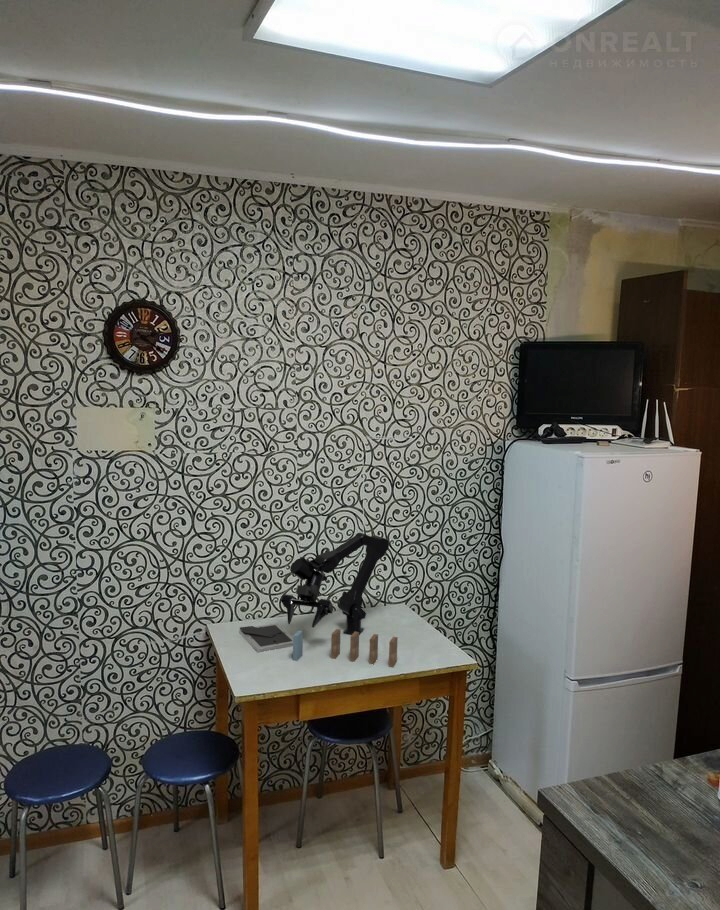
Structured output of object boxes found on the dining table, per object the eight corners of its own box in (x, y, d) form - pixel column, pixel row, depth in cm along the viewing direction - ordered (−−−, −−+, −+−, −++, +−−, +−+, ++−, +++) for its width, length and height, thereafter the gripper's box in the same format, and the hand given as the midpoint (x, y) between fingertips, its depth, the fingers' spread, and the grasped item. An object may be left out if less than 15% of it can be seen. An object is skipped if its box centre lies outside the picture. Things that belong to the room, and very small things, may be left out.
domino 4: (369, 664, 244) (369, 639, 243) (373, 658, 249) (373, 633, 248) (373, 664, 244) (374, 639, 243) (377, 659, 249) (378, 634, 248)
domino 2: (331, 658, 248) (331, 633, 247) (335, 652, 253) (336, 628, 252) (335, 659, 248) (335, 634, 247) (340, 653, 253) (340, 629, 252)
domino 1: (293, 660, 246) (293, 635, 245) (298, 654, 251) (298, 630, 250) (297, 660, 246) (297, 636, 245) (302, 655, 251) (302, 631, 249)
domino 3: (350, 661, 246) (350, 636, 245) (354, 655, 251) (354, 631, 250) (354, 661, 246) (354, 637, 245) (358, 656, 251) (359, 632, 250)
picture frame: (239, 634, 270) (257, 654, 252) (239, 627, 270) (257, 647, 252) (277, 628, 278) (298, 647, 260) (277, 621, 277) (298, 639, 259)
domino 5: (388, 666, 242) (389, 641, 241) (392, 661, 247) (393, 636, 246) (393, 667, 242) (393, 642, 241) (396, 661, 247) (397, 637, 245)
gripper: (282, 572, 255) (269, 611, 246) (331, 578, 250) (319, 618, 241) (291, 587, 264) (278, 625, 255) (338, 593, 258) (327, 632, 249)
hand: (300, 625), depth 250 cm, fingers open, 9 cm apart
